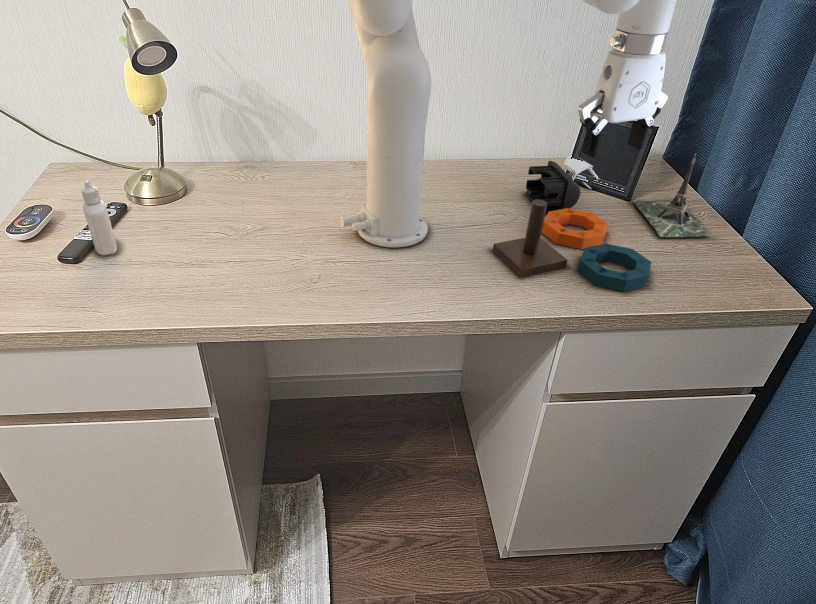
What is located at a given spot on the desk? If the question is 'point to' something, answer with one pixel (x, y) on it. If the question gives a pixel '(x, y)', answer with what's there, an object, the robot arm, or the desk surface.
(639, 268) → the teal ring
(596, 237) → the orange ring
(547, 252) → the peg stand
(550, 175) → the end cap
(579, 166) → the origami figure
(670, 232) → the eiffel tower figurine
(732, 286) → the desk surface
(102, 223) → the eye dropper bottle
